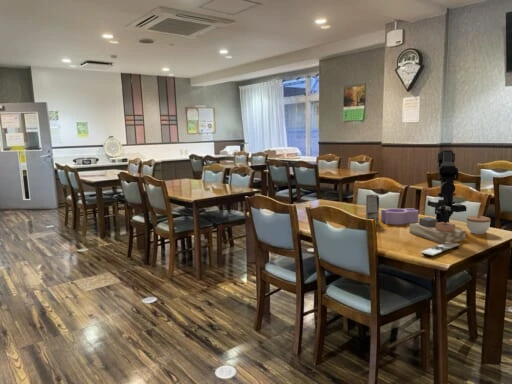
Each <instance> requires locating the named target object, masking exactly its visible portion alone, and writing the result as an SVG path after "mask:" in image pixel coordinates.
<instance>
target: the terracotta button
mask: <svg viewBox="0 0 512 384" xmlns="http://www.w3.org/2000/svg"><path fill="white" fill-rule="evenodd" d="M455 228H456V224H455V223H452V222H450V221H449V222H447V223H444V222H438V223H436V230H439V231H442V232H451V231H455Z"/></svg>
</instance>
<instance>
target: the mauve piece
mask: <svg viewBox="0 0 512 384" xmlns="http://www.w3.org/2000/svg"><path fill="white" fill-rule="evenodd" d="M419 212H420V211H419V209H416V208H413V207H411V208H406V207H405V208H398V207H397V208H393V207H392V208H391V207H390V208H384V209H381V210H380V222H384V224H385V225H389V224H390V225H405V224H414V223H419Z"/></svg>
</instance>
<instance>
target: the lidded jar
mask: <svg viewBox="0 0 512 384" xmlns="http://www.w3.org/2000/svg"><path fill="white" fill-rule="evenodd" d="M465 219H466V227H467V229H468V230H469V231H470V233H471V234H474V235H484V234H485V233H486V232H487V231H489V228H490V225H491V221H492V220H491V218H490V217H487V216H482V215H481V214H477V215H469V216H466V218H465Z"/></svg>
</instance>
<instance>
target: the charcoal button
mask: <svg viewBox="0 0 512 384" xmlns="http://www.w3.org/2000/svg"><path fill="white" fill-rule="evenodd" d="M437 222H438V219H436V218H434V217H430V216H428V217H420V218H418V223H419V225H422V226H426V227H433V226H436V223H437Z"/></svg>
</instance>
